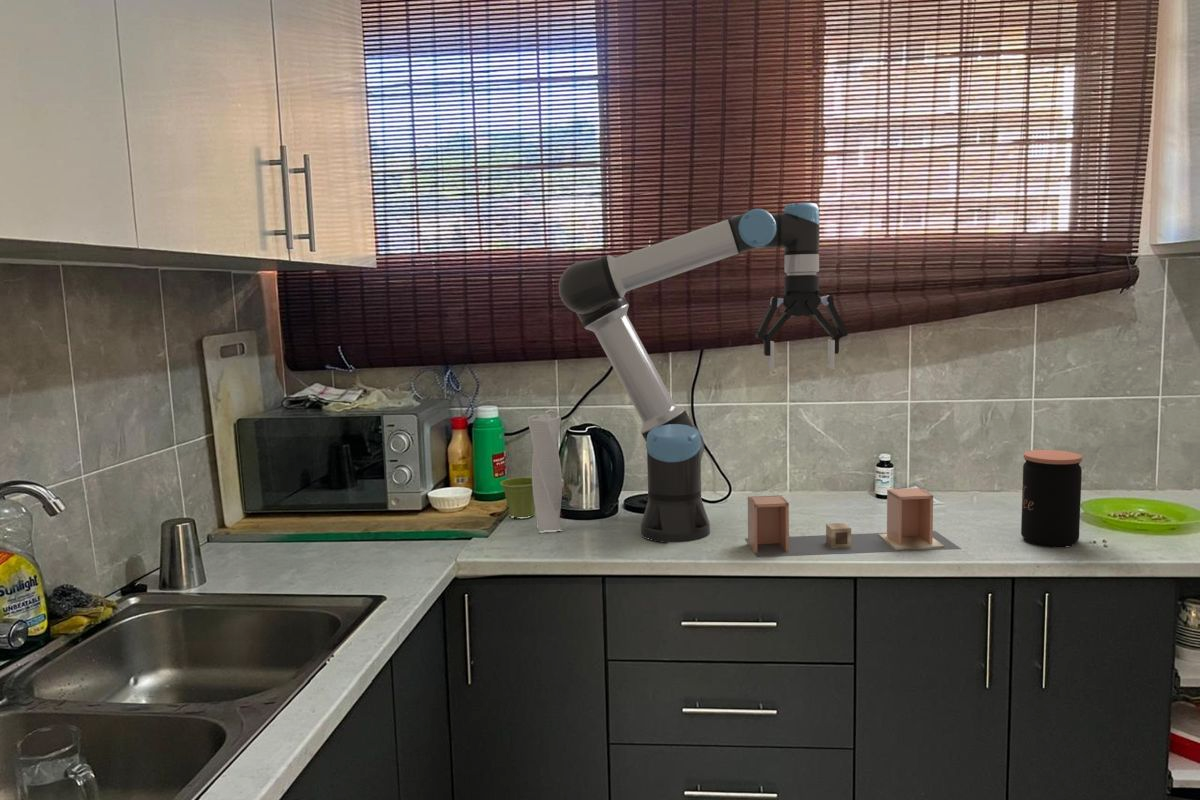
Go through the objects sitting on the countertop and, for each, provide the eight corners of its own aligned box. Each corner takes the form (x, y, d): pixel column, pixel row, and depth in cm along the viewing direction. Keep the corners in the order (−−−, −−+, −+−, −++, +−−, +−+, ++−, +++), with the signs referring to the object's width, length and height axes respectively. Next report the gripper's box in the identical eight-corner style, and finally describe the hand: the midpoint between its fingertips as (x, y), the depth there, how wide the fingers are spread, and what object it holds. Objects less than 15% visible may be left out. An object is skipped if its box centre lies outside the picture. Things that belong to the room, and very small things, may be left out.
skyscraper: (568, 533, 199) (563, 409, 195) (535, 536, 197) (530, 411, 193) (562, 524, 206) (557, 405, 203) (530, 527, 205) (525, 407, 201)
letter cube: (831, 548, 180) (831, 529, 180) (826, 542, 184) (826, 523, 184) (851, 547, 180) (851, 528, 180) (845, 541, 184) (845, 523, 184)
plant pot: (509, 523, 208) (507, 487, 207) (497, 514, 217) (495, 480, 216) (546, 518, 212) (545, 482, 211) (533, 509, 221) (531, 475, 219)
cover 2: (898, 545, 180) (898, 496, 178) (886, 536, 186) (887, 489, 185) (932, 543, 180) (933, 495, 178) (919, 534, 186) (920, 488, 185)
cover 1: (754, 552, 179) (753, 504, 177) (748, 543, 185) (747, 496, 184) (788, 551, 179) (788, 503, 178) (781, 542, 185) (781, 495, 184)
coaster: (895, 549, 178) (895, 547, 178) (878, 535, 188) (878, 534, 188) (944, 547, 178) (944, 545, 178) (924, 533, 188) (924, 532, 188)
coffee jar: (1025, 531, 189) (1028, 448, 187) (1082, 538, 183) (1085, 452, 180) (1015, 543, 180) (1018, 457, 178) (1074, 551, 174) (1078, 461, 172)
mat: (757, 559, 176) (757, 557, 176) (744, 540, 189) (744, 538, 189) (961, 550, 177) (961, 548, 177) (935, 532, 190) (935, 530, 190)
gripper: (851, 273, 201) (850, 366, 204) (742, 275, 200) (742, 369, 203) (862, 272, 194) (861, 369, 196) (749, 275, 193) (749, 372, 196)
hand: (801, 369), depth 200 cm, fingers open, 13 cm apart
